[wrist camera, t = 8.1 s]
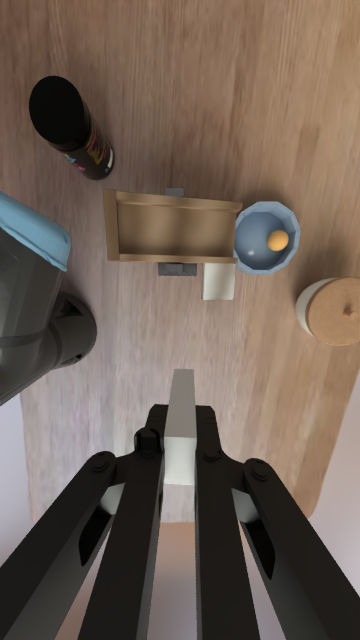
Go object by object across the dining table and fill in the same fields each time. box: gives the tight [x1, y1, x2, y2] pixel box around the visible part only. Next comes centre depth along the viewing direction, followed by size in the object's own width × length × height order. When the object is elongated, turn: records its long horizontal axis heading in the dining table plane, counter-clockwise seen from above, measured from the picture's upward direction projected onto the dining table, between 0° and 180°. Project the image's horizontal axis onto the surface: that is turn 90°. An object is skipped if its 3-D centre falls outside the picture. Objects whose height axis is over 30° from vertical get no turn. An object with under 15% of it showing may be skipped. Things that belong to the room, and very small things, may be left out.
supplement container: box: [29, 76, 114, 180], centre depth 29 cm, size 7×7×10 cm
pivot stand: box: [158, 188, 197, 276], centre depth 32 cm, size 7×12×9 cm, turn 179°
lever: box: [103, 189, 242, 300], centre depth 28 cm, size 18×14×3 cm
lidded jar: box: [295, 277, 360, 346], centre depth 33 cm, size 11×11×9 cm
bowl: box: [233, 202, 301, 274], centre depth 34 cm, size 11×11×4 cm
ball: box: [267, 230, 289, 251], centre depth 33 cm, size 3×3×3 cm
